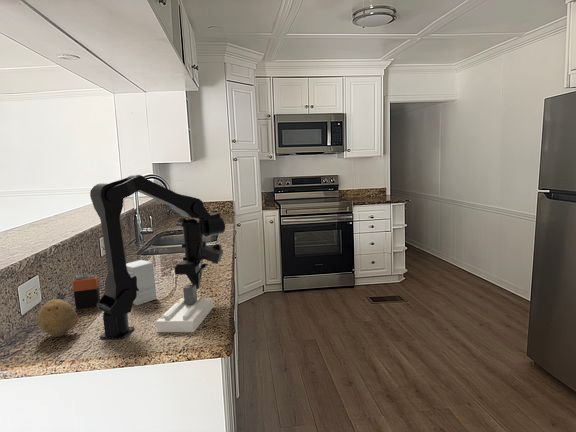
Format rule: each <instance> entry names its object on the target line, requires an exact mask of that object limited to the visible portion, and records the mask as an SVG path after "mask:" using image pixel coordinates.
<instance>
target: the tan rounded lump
mask: <svg viewBox="0 0 576 432" xmlns="http://www.w3.org/2000/svg"><path fill="white" fill-rule="evenodd" d="M36 319H37V320H36V322H37V323H36V324H37V325H38V327H39V328H40V329H41V330H42V331H44V332H45V333H47V334H48V335H50V336H52V337H56V338H58V337H62V336H64V335H66V334H67V333H68V332H69V331H70V330H72V329H73V328H74V327H76V325H77V324H78V322H79V315H78V314H77V312H76V310H74V308H73V306H72V305H71V304H70V303H68V302H67V301H65V300H64V299H60V298H56V299H55V298H53V299H51V300H49V301H48V302H46V303H45V304H44V305H42V307H41V308H40V310H39V312H38V314H37V318H36Z"/></svg>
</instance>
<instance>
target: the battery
mask: <svg viewBox="0 0 576 432" xmlns="http://www.w3.org/2000/svg"><path fill="white" fill-rule="evenodd" d="M72 287H73V296H74V305H75V309H82V308H90V307H96V306H97V303H98V301H99V300H100V299H101V294H100V286H99V277H98V275H96V274H95V275H94V274H88V275H87V276H84V275H83V274H78V275H76V276H75V278H74V279H73V280H72ZM97 307H98V306H97Z"/></svg>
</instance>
